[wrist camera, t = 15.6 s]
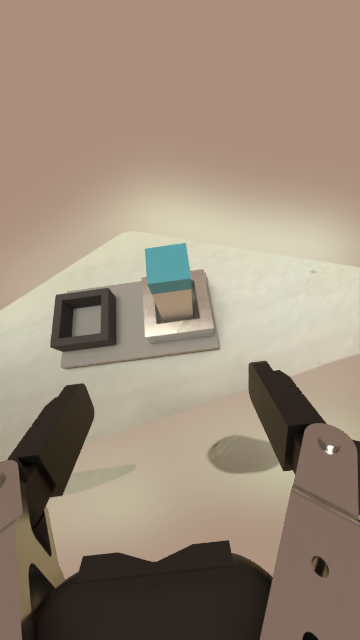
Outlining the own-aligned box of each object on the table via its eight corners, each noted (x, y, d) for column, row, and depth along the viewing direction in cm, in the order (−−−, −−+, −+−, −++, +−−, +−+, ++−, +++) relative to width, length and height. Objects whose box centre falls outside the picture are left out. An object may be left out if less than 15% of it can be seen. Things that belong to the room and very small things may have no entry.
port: (150, 344, 30) (145, 337, 27) (147, 290, 33) (141, 277, 30) (212, 336, 30) (213, 328, 27) (202, 282, 33) (203, 269, 30)
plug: (165, 326, 31) (147, 284, 20) (163, 301, 32) (144, 248, 21) (193, 323, 31) (190, 278, 19) (189, 298, 32) (185, 243, 21)
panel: (65, 368, 31) (60, 367, 30) (70, 294, 35) (67, 291, 34) (218, 349, 30) (219, 347, 29) (205, 275, 34) (205, 272, 33)
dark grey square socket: (63, 352, 31) (50, 347, 28) (67, 303, 33) (55, 294, 31) (116, 345, 30) (108, 339, 28) (115, 297, 33) (108, 287, 30)
